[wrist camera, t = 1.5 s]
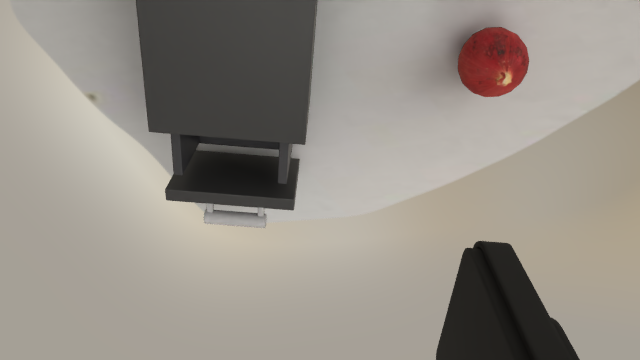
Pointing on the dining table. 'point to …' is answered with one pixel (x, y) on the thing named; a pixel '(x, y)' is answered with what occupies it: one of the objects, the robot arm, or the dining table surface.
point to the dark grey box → (228, 67)
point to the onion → (493, 62)
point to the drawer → (232, 179)
